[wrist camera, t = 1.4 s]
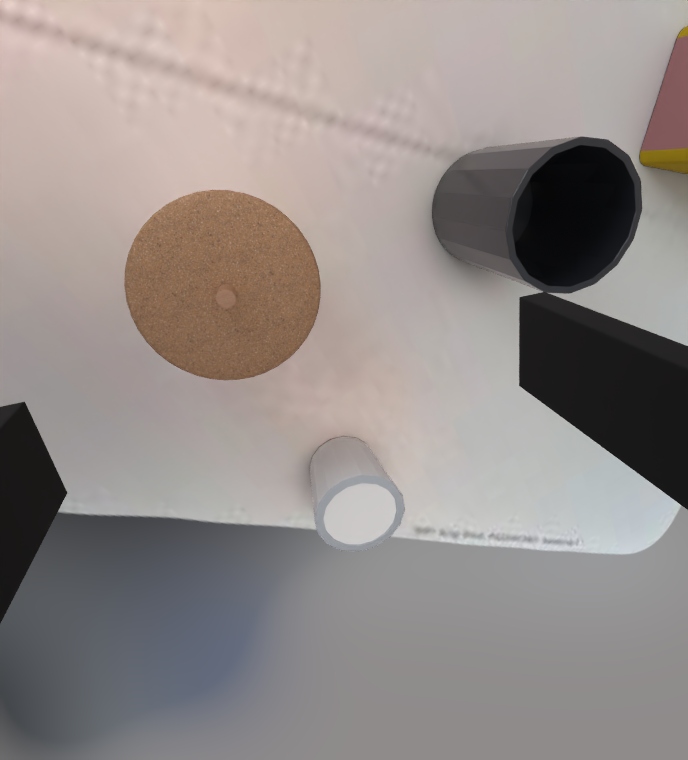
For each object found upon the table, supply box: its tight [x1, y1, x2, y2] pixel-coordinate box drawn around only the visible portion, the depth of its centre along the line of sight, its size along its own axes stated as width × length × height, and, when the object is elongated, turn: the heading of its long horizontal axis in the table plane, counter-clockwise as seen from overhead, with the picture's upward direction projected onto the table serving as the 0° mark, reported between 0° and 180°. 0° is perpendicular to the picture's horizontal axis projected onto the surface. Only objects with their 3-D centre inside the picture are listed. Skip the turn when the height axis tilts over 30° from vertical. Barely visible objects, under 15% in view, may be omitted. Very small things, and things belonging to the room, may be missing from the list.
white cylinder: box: [310, 436, 405, 551], centre depth 39 cm, size 7×7×7 cm
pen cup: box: [432, 137, 642, 293], centre depth 32 cm, size 8×8×11 cm
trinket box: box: [125, 190, 320, 380], centre depth 30 cm, size 11×11×9 cm
